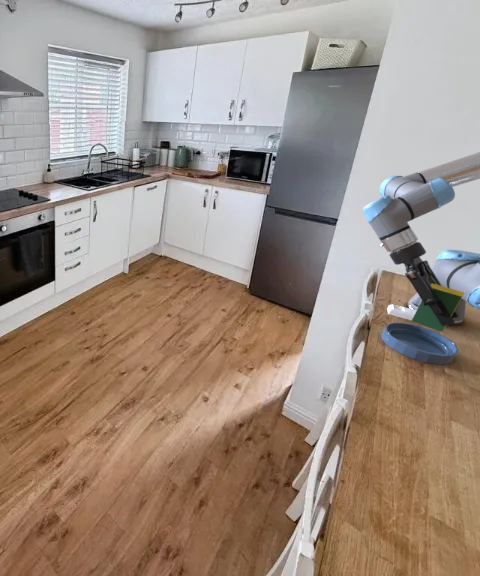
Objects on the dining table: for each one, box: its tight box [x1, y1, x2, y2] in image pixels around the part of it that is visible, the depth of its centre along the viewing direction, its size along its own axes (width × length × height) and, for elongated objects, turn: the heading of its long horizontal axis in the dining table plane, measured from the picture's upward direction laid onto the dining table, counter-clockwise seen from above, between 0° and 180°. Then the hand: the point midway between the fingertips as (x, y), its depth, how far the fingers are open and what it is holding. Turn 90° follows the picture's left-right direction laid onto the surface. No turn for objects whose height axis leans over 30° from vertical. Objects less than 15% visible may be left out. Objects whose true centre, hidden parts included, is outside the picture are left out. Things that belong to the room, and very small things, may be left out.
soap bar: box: [386, 304, 417, 321], centre depth 126 cm, size 5×9×3 cm, turn 57°
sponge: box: [411, 284, 464, 333], centre depth 103 cm, size 4×7×11 cm, turn 40°
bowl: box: [381, 321, 459, 365], centre depth 108 cm, size 17×17×4 cm
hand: (450, 320), depth 102 cm, fingers closed on sponge, 4 cm apart
